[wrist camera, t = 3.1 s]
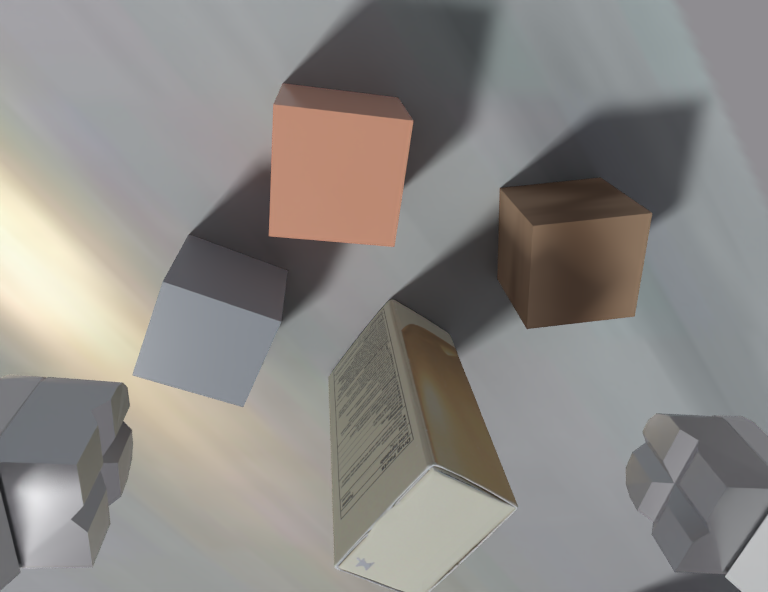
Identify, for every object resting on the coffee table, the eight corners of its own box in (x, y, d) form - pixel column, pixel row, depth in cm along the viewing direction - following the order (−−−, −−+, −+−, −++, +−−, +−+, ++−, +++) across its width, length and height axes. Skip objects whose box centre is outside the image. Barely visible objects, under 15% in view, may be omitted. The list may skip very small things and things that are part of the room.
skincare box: (387, 406, 33) (417, 608, 22) (325, 375, 31) (326, 574, 21) (455, 329, 31) (526, 511, 20) (393, 291, 29) (433, 466, 18)
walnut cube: (599, 177, 27) (652, 213, 23) (589, 268, 30) (634, 316, 25) (499, 187, 27) (532, 226, 23) (496, 278, 29) (526, 328, 25)
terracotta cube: (397, 96, 24) (413, 120, 20) (383, 204, 27) (394, 246, 22) (282, 82, 24) (273, 104, 19) (278, 194, 26) (269, 236, 22)
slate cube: (288, 269, 28) (281, 321, 24) (254, 346, 30) (243, 406, 26) (189, 233, 27) (162, 281, 22) (161, 316, 29) (132, 375, 24)
